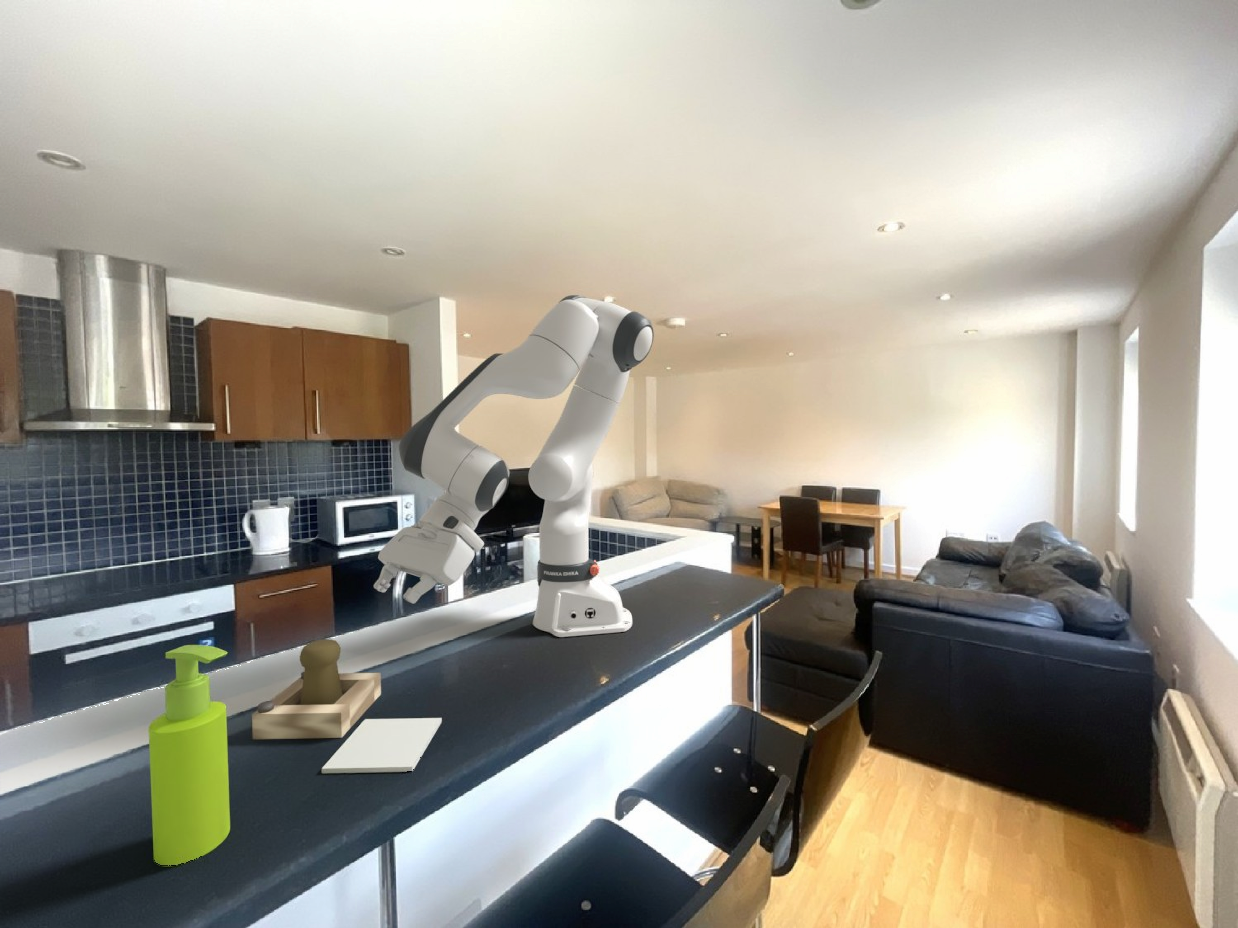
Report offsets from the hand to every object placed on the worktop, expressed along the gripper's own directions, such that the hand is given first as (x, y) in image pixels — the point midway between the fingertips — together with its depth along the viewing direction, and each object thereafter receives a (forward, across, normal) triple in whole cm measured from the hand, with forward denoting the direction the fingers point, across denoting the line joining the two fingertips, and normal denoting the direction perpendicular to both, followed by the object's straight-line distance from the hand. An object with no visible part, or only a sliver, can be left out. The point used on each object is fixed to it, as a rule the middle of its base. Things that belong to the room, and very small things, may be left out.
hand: (392, 595), depth 82 cm
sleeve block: (+19, -1, +3) cm, 19 cm away
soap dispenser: (+32, +15, -9) cm, 36 cm away
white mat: (+17, +15, +5) cm, 23 cm away
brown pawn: (+19, -1, +4) cm, 19 cm away
